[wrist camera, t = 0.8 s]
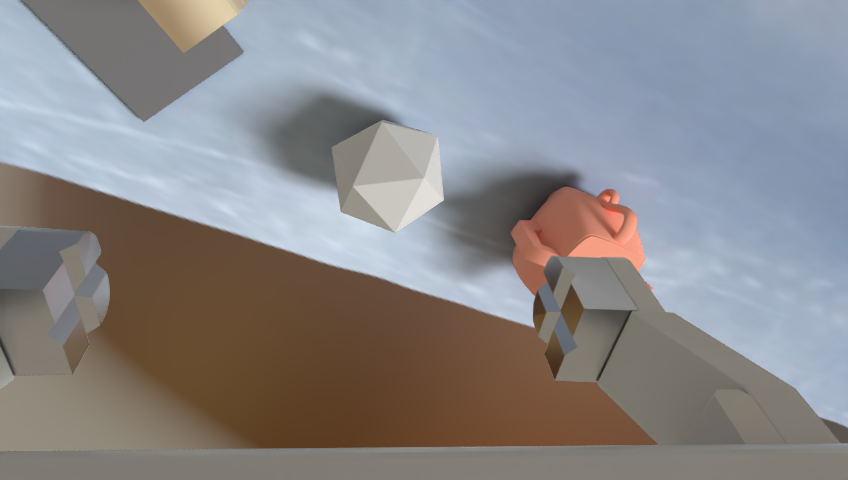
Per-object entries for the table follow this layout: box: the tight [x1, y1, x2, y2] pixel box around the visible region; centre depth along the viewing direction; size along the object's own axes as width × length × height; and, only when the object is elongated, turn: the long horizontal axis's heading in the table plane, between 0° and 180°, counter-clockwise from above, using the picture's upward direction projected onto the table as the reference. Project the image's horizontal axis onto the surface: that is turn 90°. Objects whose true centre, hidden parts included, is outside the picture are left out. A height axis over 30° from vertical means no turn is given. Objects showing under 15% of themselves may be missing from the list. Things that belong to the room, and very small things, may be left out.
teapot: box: [510, 186, 653, 322], centre depth 49 cm, size 12×12×10 cm
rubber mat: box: [23, 0, 244, 122], centre depth 38 cm, size 10×12×1 cm
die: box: [331, 120, 444, 233], centre depth 43 cm, size 8×9×10 cm
